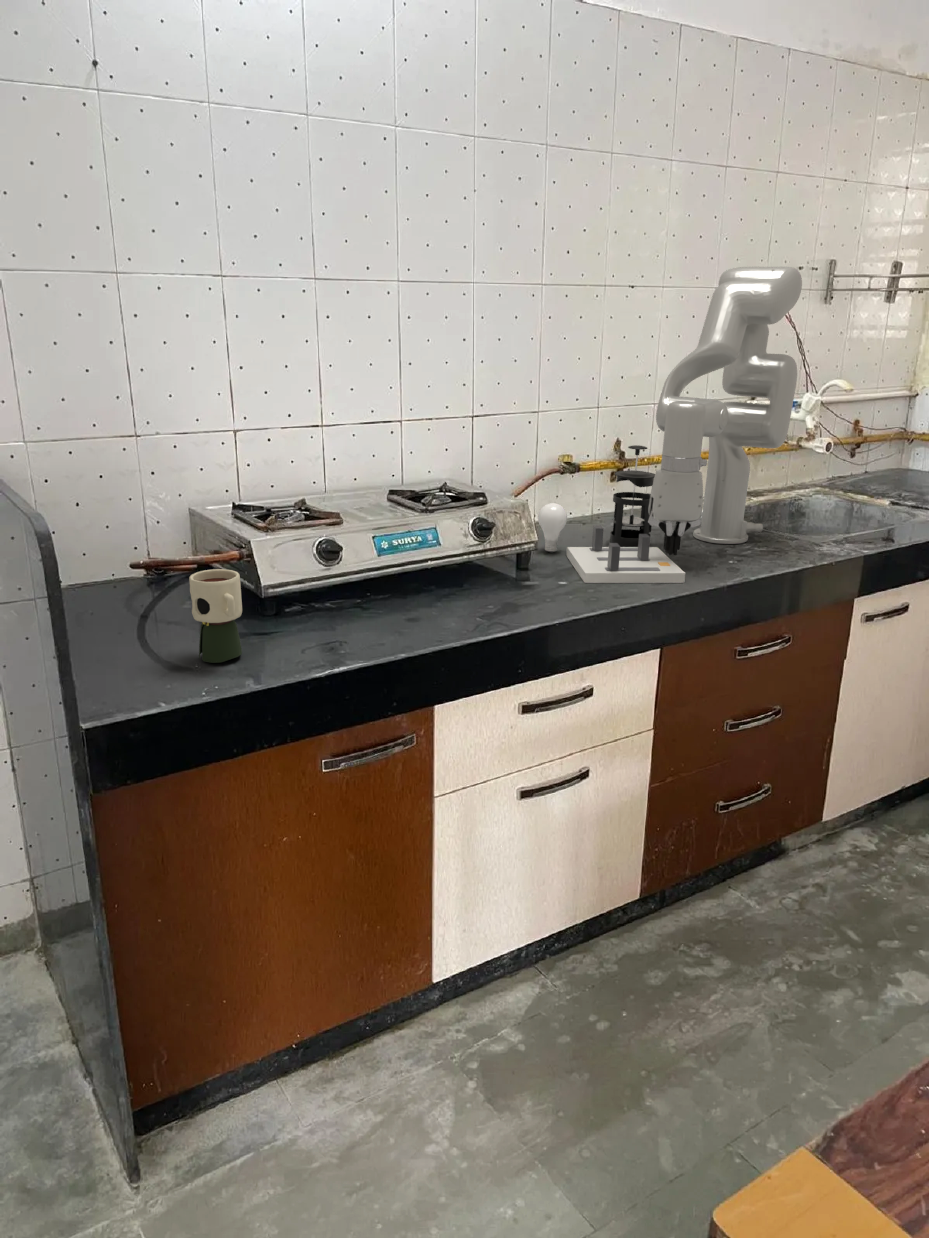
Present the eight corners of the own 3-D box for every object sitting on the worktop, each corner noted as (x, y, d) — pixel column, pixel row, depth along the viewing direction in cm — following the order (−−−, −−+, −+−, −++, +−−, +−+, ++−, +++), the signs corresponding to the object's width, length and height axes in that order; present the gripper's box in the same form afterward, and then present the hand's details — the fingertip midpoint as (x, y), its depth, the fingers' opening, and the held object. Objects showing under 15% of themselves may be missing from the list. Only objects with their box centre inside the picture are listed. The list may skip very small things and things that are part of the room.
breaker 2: (615, 566, 174) (617, 543, 172) (618, 570, 171) (620, 546, 170) (607, 566, 174) (609, 543, 172) (610, 570, 171) (612, 546, 170)
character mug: (183, 652, 132) (175, 570, 128) (227, 642, 136) (221, 563, 132) (214, 675, 124) (206, 589, 120) (259, 664, 129) (254, 580, 124)
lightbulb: (563, 557, 188) (566, 507, 185) (534, 554, 190) (537, 505, 186) (566, 549, 194) (569, 501, 191) (538, 547, 196) (540, 499, 192)
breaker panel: (656, 556, 191) (657, 546, 190) (684, 582, 172) (685, 572, 171) (566, 555, 189) (567, 546, 189) (584, 583, 171) (585, 572, 170)
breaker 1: (599, 547, 188) (600, 525, 186) (601, 550, 185) (603, 528, 184) (591, 547, 188) (593, 525, 186) (594, 550, 185) (596, 528, 184)
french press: (630, 556, 190) (639, 450, 182) (597, 547, 197) (605, 445, 189) (663, 548, 197) (673, 446, 190) (631, 539, 204) (639, 441, 196)
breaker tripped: (644, 556, 182) (646, 533, 180) (648, 559, 179) (650, 537, 177) (637, 556, 182) (639, 533, 180) (640, 559, 179) (642, 537, 177)
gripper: (710, 462, 178) (700, 549, 184) (638, 461, 177) (631, 548, 183) (723, 468, 171) (712, 558, 177) (648, 467, 170) (640, 558, 176)
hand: (670, 553), depth 180 cm, fingers closed
